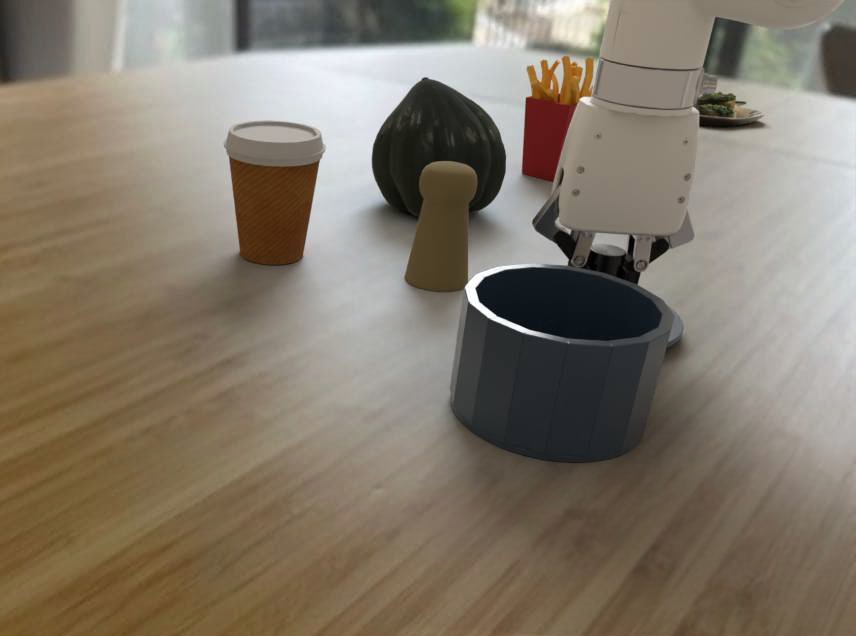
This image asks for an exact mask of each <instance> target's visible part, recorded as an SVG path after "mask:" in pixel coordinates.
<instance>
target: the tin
mask: <svg viewBox="0 0 856 636" xmlns="http://www.w3.org/2000/svg"><path fill="white" fill-rule="evenodd" d="M668 306H669V305H668V304H667V303H666V302H665V300H664V299H663V298H661V297H659V296H658V295H657V294H655V293H653V292H651V291H650V290H647V289H646V288H644V287H642V286H641V285H639V284H638V285H637V284H634V283H631V282H629V281H626V280H623V279H620V278H617V277H614V276H611V275H608V274H606V273H602V272H597V271H592V270H587V269H582V268H577V267H572V266H567V265H563V264H550V263H549V264H548V263H532V262H530V263H521V264H509V265H501V266H500V265H499V266H495V267H492V268H490V269H486V270H484V271H481V272H477V273H476V274H474V275H473V276H472V278H470V280H468V283H467V284H466V285H465V287H464V288H463V294H462V300H461V306H460V313H459V321H458V329H457V334H456V336H457V337H456V342H455V349H454V357H453V362H452V363H453V364H452V371H451V377H450V383H449V391H450V397H449V398H450V401H449V402H450V406H451V410H452V411H453V413H454V415H455V416H456V418H457V420H459V422H461V424H462V425H463V426H464V427H466V428H467V429H468V430H469V431H470V432H472V433H473V434H475V435H476V436H477V437H479V438H481V439H483V440H484V441H486V442H488V443H490V444H493V445H494V446H496V447H499V448H502V449H503V450H507V451H509V452H512V453H515V454H519V455H522V456H525V457H530V458H534V459H539V460H544V461H545V460H546V461H552V462H561V463H592V462H599V461H605V460H610V459H614V458H616V457H619V456H623V455H624V454H626V453H628V452H630V451H632V449H634V448H635V447H636V446H637V445H638V444H639V443H640V442H641V440H642V439H643V437H644V434H645V429H646V427H647V423H648V419H649V415H650V410H651V407H652V404H653V400H654V397H655V392H656V388H657V385H658V382H659V377H660V374H661V370H662V366H663V362H664V359H665V355H666V351H667V348H668V347H667V344H668V341H669V337H670V333H671V330H672V326H673V322H674V318H675V315H674V314H673V312H672V311H671V310H670V308H671V307H670V306H669V307H670V308H669V307H668Z"/></svg>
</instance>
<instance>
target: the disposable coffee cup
mask: <svg viewBox="0 0 856 636" xmlns="http://www.w3.org/2000/svg"><path fill="white" fill-rule="evenodd" d="M223 147H224V149H225V153H226V155H227V156H228V159H229V160H228V161H229V172H230V178H231V179H230V180H231V186H232V193H233V194H232V197H233V202H234V203H233V204H234V211H235V213H234V215H235V220H236V229H237V230H236V231H237V239H238V246H239V247H238V248H239V254H240V256H241V257H242V258H243V259H244V260H247V261H249V262H252V263H257V264H260V265H271V266H272V265H274V266H275V265H276V266H277V265H278V266H280V265H287V264H292V263H295V262H298V261H300V260H301V259H302V258H303V257H304V253H305V247H306V242H307V235H308V230H309V224H310V218H311V213H312V208H313V202H314V196H315V191H316V185H317V178H318V173H319V167H320V162H321V159H323V155H324V153H325V152H326V150H327V146H326V144H325V143H324V142H323V135H322V131H321V130H320V129H318V128H316V127H314V126H311V125H308V124H306V123H300V122H294V121H284V120H250V121H249V120H248V121H243V122H238V123H235V124H233V125H231V126H230V127H229V129H228V131H227V136H226V139H225V140H223Z"/></svg>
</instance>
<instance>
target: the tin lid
mask: <svg viewBox="0 0 856 636" xmlns="http://www.w3.org/2000/svg"><path fill="white" fill-rule="evenodd" d="M625 257H626V249H624V248H622V247H619V246H617V245H614V244H609V243H594V244H592V246H591V249H590V252H589V256H588V267H589V268H590V270H592V271H597V272H602V273H606V274H608V275H611V276H614V277H617V278H620V279H621V274H622V270H623V266H624V262H625ZM667 306H668V307H669V308H670V310H671V311H672V312H673V314H674V315H675V318H674V322H673V326H672V330H671V333H670V337H669V341H668V344H667V348H669V347H671V346H673V345H674V344H676V343H677V342H679V340H680V339H681V338H682V335H683V332H684V322H683V320H682V318H681V316H680V315H679V314H678V313H677V312H676V310H674V309H673V308H672V307H671V306H669V305H667Z"/></svg>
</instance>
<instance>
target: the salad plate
mask: <svg viewBox="0 0 856 636" xmlns="http://www.w3.org/2000/svg"><path fill="white" fill-rule="evenodd" d="M745 105H747V101H744V100H737V95H735V94H734V93H733V92H728V93H723V92H722V91H718V92H714V93H713V94H707V93H704V94H703V95H700V96H699V97H698V99H697V103H696V104H693V107H694V108H696V109H697V110H698V111H699V126H701V125H704V126H703V127H709V126H714V127H713V128H724V127H723V126H728V127H737V126H736V125H739V126H743V124H745V125H748V124H747V123H749V124H753V123H755V122H756V121H759V120H760V119H762V118H763V117H764V112H762V111H761V110H758V109H752V108H746V107H742V106H745ZM752 122H753V123H752ZM716 126H717V127H716Z"/></svg>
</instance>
